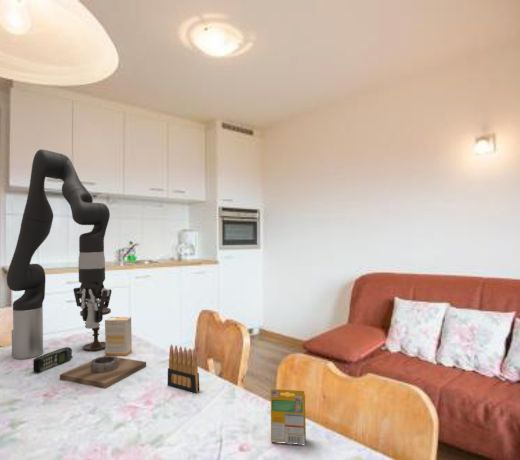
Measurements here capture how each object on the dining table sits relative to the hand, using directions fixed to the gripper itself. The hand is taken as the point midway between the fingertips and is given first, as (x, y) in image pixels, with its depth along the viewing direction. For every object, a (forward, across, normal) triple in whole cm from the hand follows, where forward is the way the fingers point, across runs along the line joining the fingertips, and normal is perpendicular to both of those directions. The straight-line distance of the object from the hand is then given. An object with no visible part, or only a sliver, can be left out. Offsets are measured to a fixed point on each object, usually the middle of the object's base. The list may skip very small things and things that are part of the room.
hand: (92, 321), depth 114 cm
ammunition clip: (+18, +31, +3) cm, 36 cm away
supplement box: (+18, -8, +19) cm, 27 cm away
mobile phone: (+18, -20, +2) cm, 27 cm away
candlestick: (+17, -21, +21) cm, 35 cm away
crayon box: (+18, +67, -10) cm, 70 cm away
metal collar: (+16, +1, +4) cm, 16 cm away
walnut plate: (+17, +1, +4) cm, 18 cm away
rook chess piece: (+2, 0, 0) cm, 2 cm away
